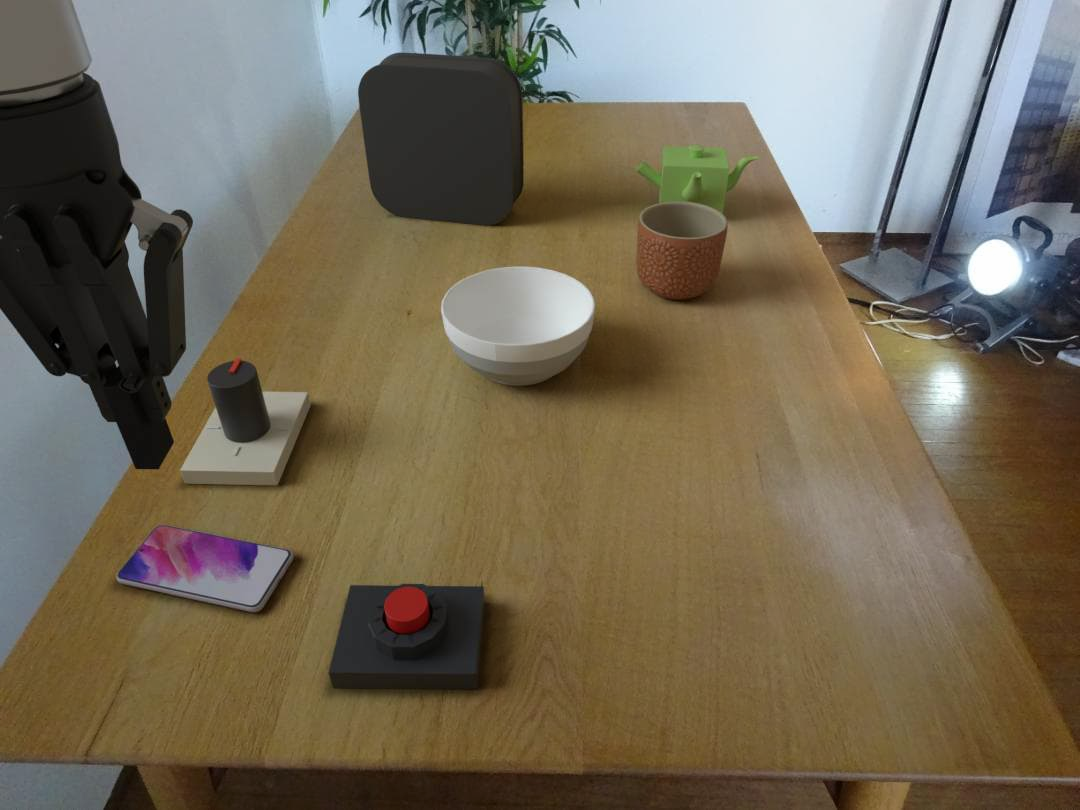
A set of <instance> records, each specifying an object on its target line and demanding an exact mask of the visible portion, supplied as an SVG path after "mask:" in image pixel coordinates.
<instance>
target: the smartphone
mask: <svg viewBox="0 0 1080 810" xmlns="http://www.w3.org/2000/svg"><path fill="white" fill-rule="evenodd" d="M293 560H294V553H293V551H292V550H290V549H288V548H284V547H278V546H273V545H268V544H264V543H259V542H253V541H249V540H243V539H238V538H234V537H228V536H224V535H220V534H219V535H218V534H213V533H208V532H204V531H200V530H199V531H198V530H194V529H188V528H183V527H180V526H179V527H178V526H174V525H169V524H159V525H157V526H155V527H154V528H153V529H152V530H151V532H150V533H149V534H148V535H147V536H146V537H145V538H144V540H143V541H142V542H141V544H140V545H139V546H138V548H137V549H136V550H135V551H134V552H133V553H132V555H131V556H130V557H129V558H128V560H127V561H126V562H125V563H124V564H123V566H121V568H120V569H119V570H118V571H117V573H116V580H117V581H116V582H118V583H119V584H122V585H124V586H125V585H126V586H129V587H130V586H131V587H135V588H139V589H145V590H147V591H148V590H149V591H154V592H158V593H162V594H166V595H172V596H176V597H181V598H185V599H190V600H195V601H199V602H203V603H208V604H212V605H217V606H221V607H227V608H231V609H235V610H240V611H243V612H244V611H245V612H249V613H258V612H260V611H262V609H264V608H265V606H266V604H267V603H268V601H269V599H270V598H271V596H272V595H273V592H274V591H275V590H276V588H277V586H278V584H279V583H280V581H281V580H282V578H283V577H284V575H285V574H286V571H287V570H288V569H289V567H290V565H291V564H292V562H293Z"/></svg>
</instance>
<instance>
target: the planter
mask: <svg viewBox="0 0 1080 810" xmlns="http://www.w3.org/2000/svg"><path fill="white" fill-rule="evenodd" d="M727 234H728V219H727V217H726V216H725V215H724V213H723V214H722V213H721V212H719V211H718V210H716V209H714V208H712V207H709V206H706V205H703V204H698V203H693V202H683V201H672V202H663V203H654V204H652V205H649V206H647V207H645V208H644V209H643V210H642V211H640V214H639V216H638V222H637V235H636V236H637V237H636V261H635V262H636V272H637V277H638V278H639V281H640V282H641V284H642V285H643V286H644V287H645V289H647V290H648V291H649V292H650V293H652V294H654V295H655V296H658V297H660V298H663V299H666V300H670V301H671V300H672V301H687V300H691V299H694V298H697V297H699V296H702V295H704V294H705V293H707V291H709V290H710V289H712V287H713V286H714V284H715V283H716V281H717V279H718V276H719V274H720V270H721V266H722V265H721V264H722V260H723V254H724V251H725V245H726V241H727V240H726V239H727Z"/></svg>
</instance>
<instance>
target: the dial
mask: <svg viewBox="0 0 1080 810" xmlns="http://www.w3.org/2000/svg"><path fill="white" fill-rule="evenodd" d="M206 381H207V383H208V387H209V390H210V393H211V396H212V399H213V403H214V406H215V407H216V409H217V412H218V415H219V419H220V422H221V425H222V428H223V431H224V435H225V437H226V438H227V439H229V440H230V441H233V442H238V443H244V442H250V441H254V440H256V439H259V438H261V437H262V436H264V435H265V434H266V433H267V432H268V431H269V429H270V425H271V423H270V419H269V415H268V412H267V408H266V404H265V400H264V396H263V393H262V391H263V388H262V385H261V382H260V379H259V374H258V369H257V367H256V366H255V365H254V364H253V363H252V362H249V361H247V360H242V358H235V360H232V361H231V360H230V361H227V362H223V363H221V364H218V365H217V366H215V367H213V368H212V369H211V370H210V371H209V373H208V374H207V378H206Z"/></svg>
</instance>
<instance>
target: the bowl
mask: <svg viewBox="0 0 1080 810" xmlns="http://www.w3.org/2000/svg"><path fill="white" fill-rule="evenodd" d="M595 312H596V302H595V298H594V296H593V295H592V292H591V290H590V289H589V288H588V287H587V286H586V285H584V283H582V282H581V281H579V280H578V279H576V278H574V277H572V276H570V275H568V274H566V273H563V272H560V271H556V270H553V269H548V268H543V267H537V266H503V267H496V268H491V269H486V270H482V271H479V272H477V273H474V274H471V275H469V276H467V277H465V278H462V279H461V280H459V281H458V282H456V283H455V284H453V285H452V286H451V287H450V288H449V289H448V290H447V292H446V293H445V294H444V297H443V298H442V300H441V305H440V313H441V317H442V323H443V327H444V332H445V335H446V336H447V339H448V341H449V344H450V346H451V348H452V350H453V351H454V353H455V355H456V356H457V357H458V358H459V359H460V360H461V361H462V362H463V363H464V364H465V365H466V366H467V367H469V368H470V369H471V370H472V371H474V372H475V373H476V374H479V375H480V376H483V377H484V378H487V379H489V380H490V381H493V382H495V383H497V384H501V385H505V386H514V387H519V386H520V387H523V386H531V385H535V384H539V383H542V382H544V381H547V380H549V379H551V378H552V377H553V376H555V375H558V374H560V373H561V372H563V371H564V370H567V368H568V367H569V366H570V365H572V363H573V362H574V361H575V360H576V359H577V358H578V357H579V356H580V355H581V354H582V353H583V351H584V349H585V347H586V346H587V344H588V341H589V339H590V335H591V332H592V330H593V327H594V326H593V324H594V321H595V320H594V319H595Z"/></svg>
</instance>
